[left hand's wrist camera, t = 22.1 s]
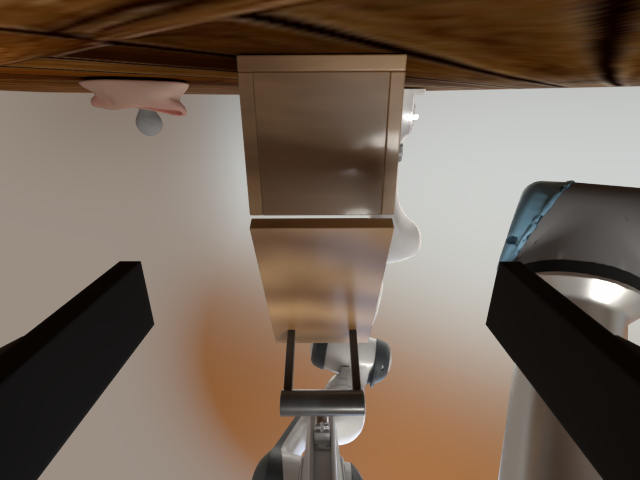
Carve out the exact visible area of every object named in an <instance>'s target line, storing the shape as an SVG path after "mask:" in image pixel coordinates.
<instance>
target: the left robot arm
mask: <svg viewBox="0 0 640 480" xmlns="http://www.w3.org/2000/svg"><path fill="white" fill-rule="evenodd" d="M639 318H640V188H634V187H622V186H610V185H598V184H587V183H575V182H574V181H567V182H550V181H539V182H534V183H532V184H530V185H529V186H527V188H525V190H524V191H523V193H522V195H521V198H520V201H519V203H518V206H517V209H516V212H515V214H514V218H513V220H512V223H511V226H510V229H509V233H508V236H507V239H506V242H505V245H504V247H503V250H502V253H501V256H500V260H499V263H498V266H497V275H496V279H495V284H494V288H493V293H492V298H491V302H490V307H489V312H488V316H487V321H486V325H487V327H488V328H489V329H490V331H491V332H492V333H493V335H494V336H495V337H496V339H497V340H498V341H499V343H500V344H501V345H502V347H503V348H504V349H505V351H506V352H507V353H508V355H509V356H510V357H511V359H512V360H513V361H514V368H513V375H512V382H511V390H510V397H509V404H508V412H507V419H506V426H505V434H504V441H503V448H502V455H501V463H500V470H499V477H498V480H640V346H638V345H636V344H634V343H632V342H630V341H628V325H629V324H630V323H632V322H634V321H636V320H637V319H639ZM153 325H154V321H153V316H152V312H151V307H150V302H149V298H148V293H147V288H146V284H145V279H144V275H143V270H142V265H141V262H140V261H120V262H118V263H117V264H116V265H114V266H113V267H112V268H111V269H109V270H108V271H107V272H106V273H104V274H103V275H102V276H100V277H99V278H98V279H97V280H95V281H94V282H93V283H92V284H90V285H89V286H88V287H86V288H85V289H84V290H82V291H81V292H80V293H79V294H77V295H76V296H75V297H74V298H72V299H71V300H70V301H68V302H67V303H66V304H65V305H63V306H62V307H61V308H59V309H58V310H57V311H56V312H54V313H53V314H52V315H51V316H49V317H48V318H47V319H45V320H44V321H43V322H42V323H40V324H39V325H38V326H36V327H35V328H34V329H33V330H31V331H30V332H29V333H27V334H26V335H25V336H22V337H20V338H18V339H17V340H15V341H13V342H11V343H9V344H7V345H5V346H3V347H1V348H0V480H37V479H38V478H39V476H40V475H41V474H42V472H43V471H44V470H45V468H46V467H47V466H48V465H49V463H50V462H51V461H52V459H53V458H54V456H55V455H56V454H57V453H58V451H59V450H60V449H61V447H62V446H63V445H64V443H65V442H66V441H67V439H68V438H69V437H70V435H71V434H72V433H73V431H74V430H75V429H76V427H77V426H78V425H79V423H80V422H81V421H82V420H83V418H84V417H85V416H86V414H87V413H88V412H89V410H90V409H91V408H92V406H93V405H94V404H95V402H96V401H97V400H98V398H99V397H100V396H101V394H102V393H103V392H104V390H105V389H106V388H107V386H108V385H109V384H110V382H111V381H112V380H113V378H114V377H115V376H116V374H117V373H118V372H119V370H120V369H121V368H122V367H123V365H124V364H125V363H126V361H127V360H128V359H129V357H130V356H131V355H132V353H133V352H134V351H135V349H136V348H137V347H138V345H139V344H140V343H141V341H142V340H143V339H144V337H145V336H146V335H147V333H148V332H149V331H150V329H151V328H152V327H153Z"/></svg>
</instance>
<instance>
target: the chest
mask: <svg viewBox="0 0 640 480" xmlns="http://www.w3.org/2000/svg"><path fill="white" fill-rule="evenodd" d="M236 58H237V70H238V72H239V73H238V82H239V93H240V105H241V117H242V128H243V139H244V151H245V163H246V174H247V186H248V197H249V209H250V215H393V214H394V208H395V195H396V183H397V171H398V159H399V146H400V134H401V122H402V110H403V97H404V85H405V72H404V71H405V70H406V60H407V55H406V54H343V55H237V57H236Z"/></svg>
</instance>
